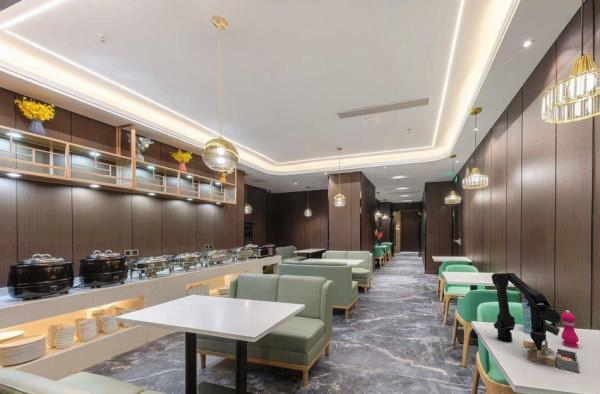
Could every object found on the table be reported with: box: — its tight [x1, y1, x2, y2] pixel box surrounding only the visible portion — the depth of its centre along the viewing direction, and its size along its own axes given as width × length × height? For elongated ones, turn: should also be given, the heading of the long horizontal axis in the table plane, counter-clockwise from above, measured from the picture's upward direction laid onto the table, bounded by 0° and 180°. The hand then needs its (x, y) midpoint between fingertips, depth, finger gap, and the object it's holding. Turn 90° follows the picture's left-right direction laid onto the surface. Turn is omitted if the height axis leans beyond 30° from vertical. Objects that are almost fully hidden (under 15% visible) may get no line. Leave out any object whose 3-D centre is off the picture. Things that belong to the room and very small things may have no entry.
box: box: [555, 348, 580, 374], centre depth 144 cm, size 8×15×4 cm, turn 139°
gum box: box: [521, 294, 547, 335], centre depth 189 cm, size 20×5×23 cm, turn 116°
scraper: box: [522, 339, 549, 356], centre depth 152 cm, size 10×12×4 cm
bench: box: [527, 347, 557, 368], centre depth 150 cm, size 11×14×4 cm
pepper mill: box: [560, 309, 579, 349], centre depth 166 cm, size 7×7×20 cm
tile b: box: [561, 356, 573, 362], centre depth 146 cm, size 4×4×1 cm
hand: (539, 347), depth 151 cm, fingers open, 9 cm apart
